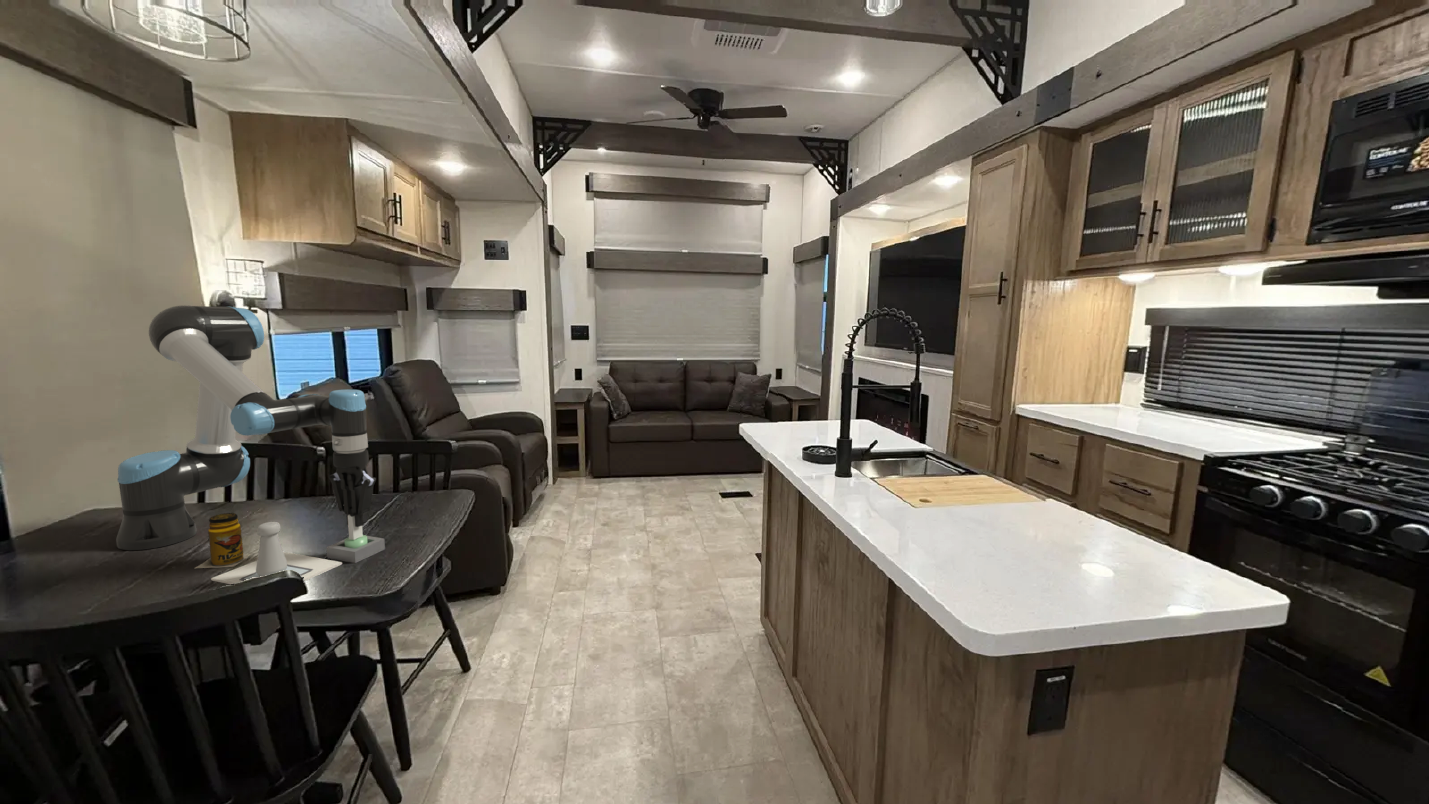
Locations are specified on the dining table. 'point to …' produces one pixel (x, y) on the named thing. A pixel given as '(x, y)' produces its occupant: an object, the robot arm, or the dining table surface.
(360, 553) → the button housing
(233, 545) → the condiment
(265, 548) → the salt shaker
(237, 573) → the colouring board
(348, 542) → the button
